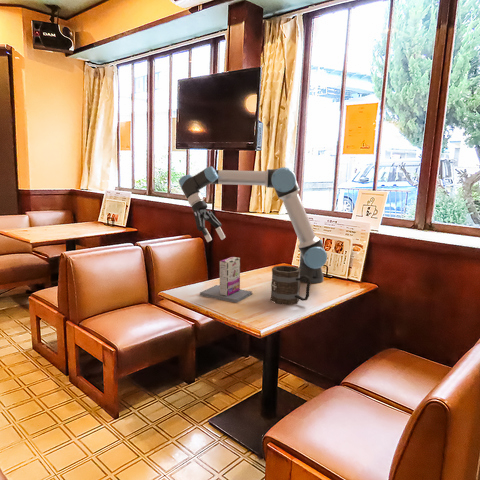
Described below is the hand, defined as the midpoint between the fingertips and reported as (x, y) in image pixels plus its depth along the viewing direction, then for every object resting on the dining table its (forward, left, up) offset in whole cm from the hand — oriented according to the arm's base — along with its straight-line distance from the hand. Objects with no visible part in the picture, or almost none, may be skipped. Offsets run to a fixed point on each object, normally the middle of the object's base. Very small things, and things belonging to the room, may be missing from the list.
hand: (217, 239), depth 202 cm
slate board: (-11, +8, -25) cm, 28 cm away
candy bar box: (-13, +9, -23) cm, 28 cm away
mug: (-41, +1, -25) cm, 48 cm away
